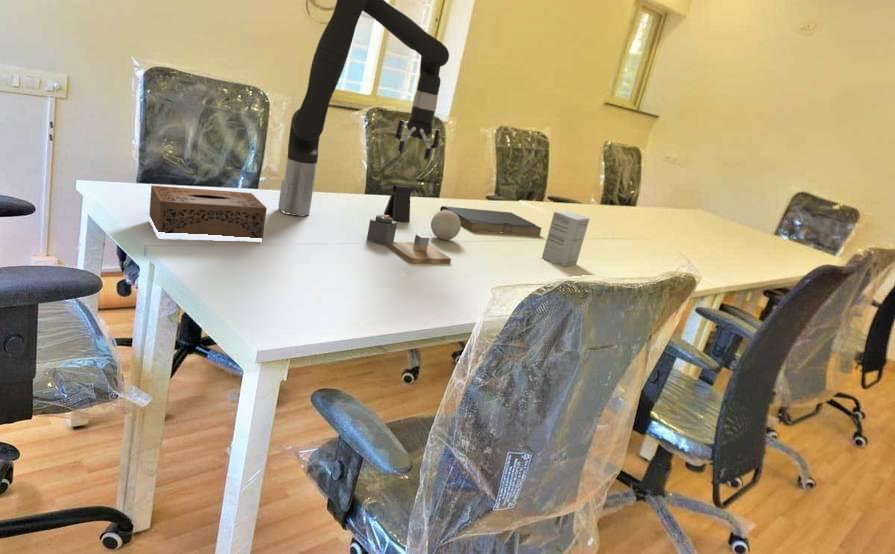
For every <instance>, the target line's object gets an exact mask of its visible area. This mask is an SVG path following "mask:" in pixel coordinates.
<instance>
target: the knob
mask: <svg viewBox="0 0 895 554" xmlns="http://www.w3.org/2000/svg"><path fill="white" fill-rule="evenodd" d="M397 226H398V222H396V221H393V219H392V218H391V217H389V215H385V214H383V215H382V214H377V215H375V217H374V218H370V219H369V224H368V229H367V235H366V240H367V239H368V240H367V241H369V240H371V241H370V242H372V241H374V242H373V243H375V242H376V243H375V244H378V243H379V245H381V244H382V245H381V246H384V245H385V246H388V242H395V236H396V231H397Z"/></svg>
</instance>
